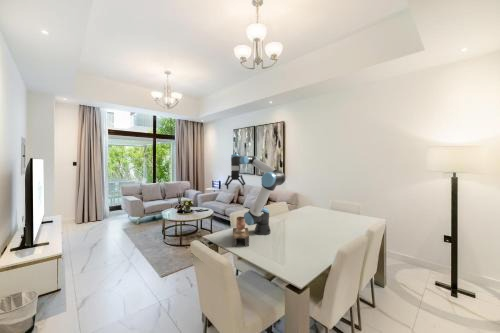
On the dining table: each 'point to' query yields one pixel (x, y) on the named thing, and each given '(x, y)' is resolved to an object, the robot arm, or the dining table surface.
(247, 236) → the bridge shelf
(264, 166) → the robot arm
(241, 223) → the cord reel
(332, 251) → the dining table surface
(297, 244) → the dining table surface
